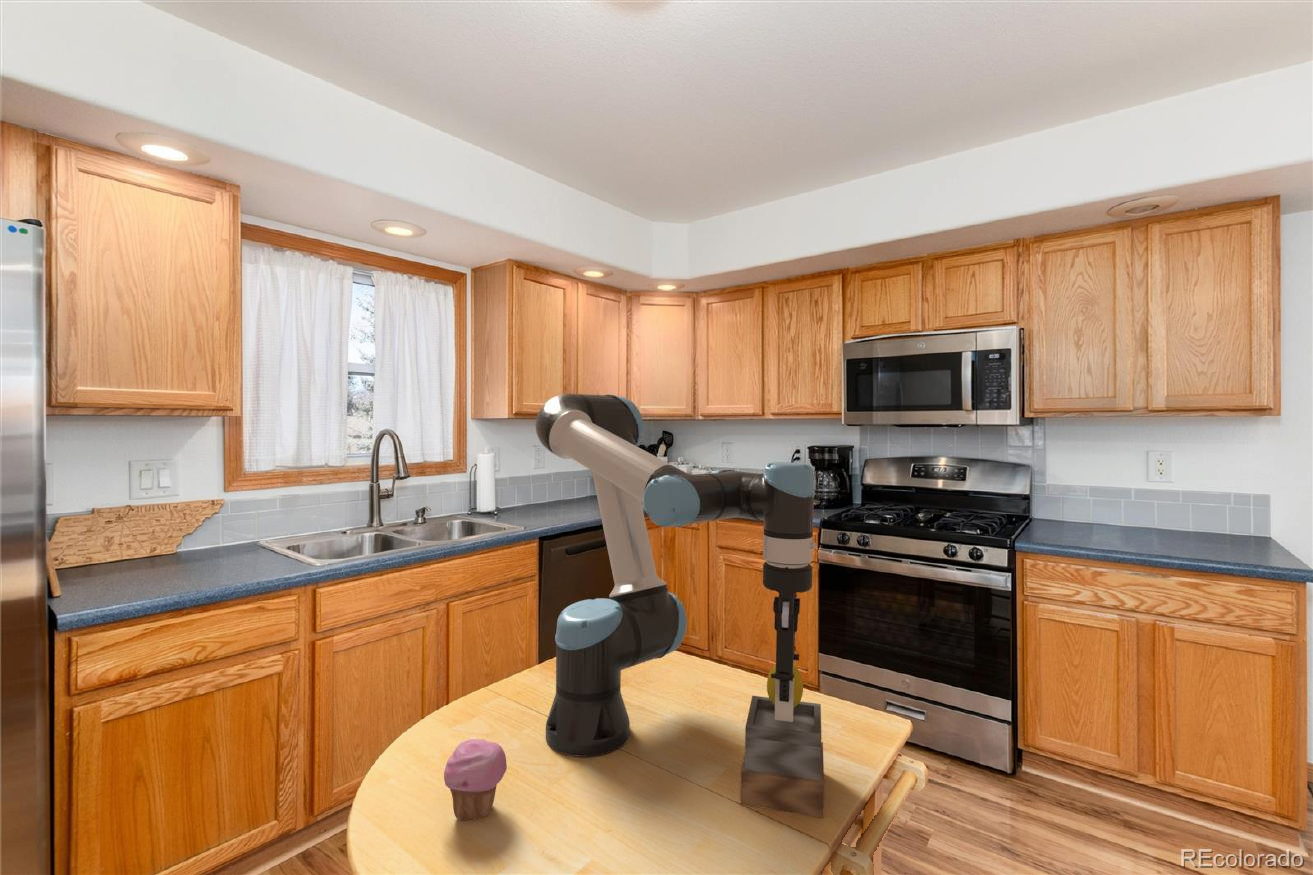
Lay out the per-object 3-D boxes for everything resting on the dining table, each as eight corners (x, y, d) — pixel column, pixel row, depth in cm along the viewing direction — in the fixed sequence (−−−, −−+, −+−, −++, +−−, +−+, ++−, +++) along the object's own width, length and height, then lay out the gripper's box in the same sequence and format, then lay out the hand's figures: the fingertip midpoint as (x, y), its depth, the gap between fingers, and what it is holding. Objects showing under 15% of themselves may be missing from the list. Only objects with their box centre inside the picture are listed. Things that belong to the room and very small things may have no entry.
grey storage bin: (740, 804, 93) (741, 728, 93) (748, 761, 104) (749, 694, 104) (823, 817, 90) (825, 739, 90) (822, 772, 102) (823, 702, 101)
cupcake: (452, 794, 94) (452, 729, 94) (510, 792, 95) (511, 727, 95) (436, 832, 85) (436, 761, 85) (500, 830, 86) (500, 759, 86)
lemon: (795, 723, 93) (796, 670, 93) (760, 714, 96) (761, 662, 96) (807, 709, 98) (808, 659, 98) (774, 700, 101) (775, 651, 100)
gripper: (812, 578, 86) (809, 743, 87) (812, 551, 104) (809, 688, 105) (758, 574, 88) (755, 736, 89) (767, 549, 106) (764, 683, 107)
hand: (784, 710), depth 97 cm, fingers closed on lemon, 5 cm apart
